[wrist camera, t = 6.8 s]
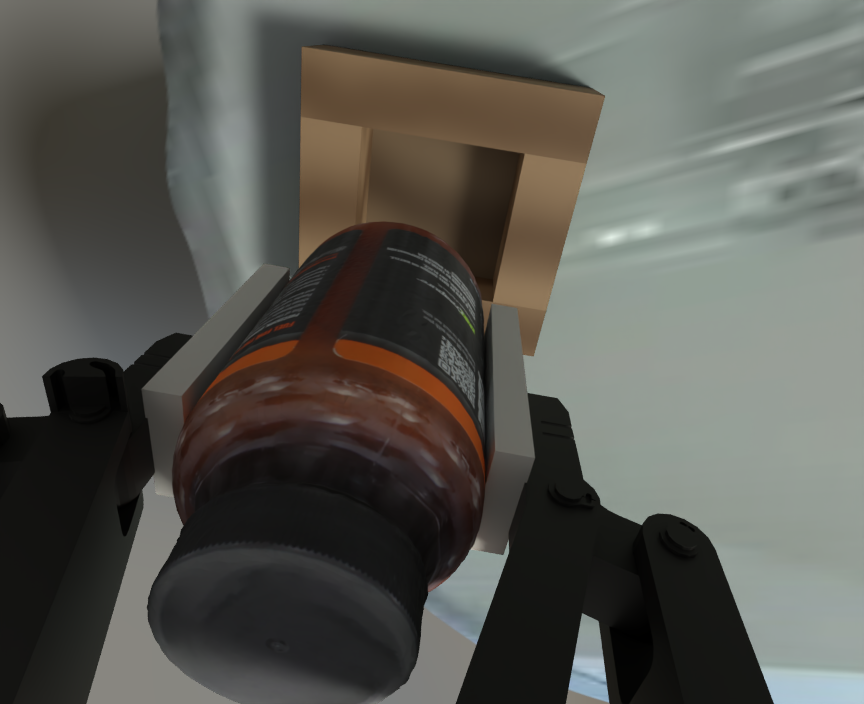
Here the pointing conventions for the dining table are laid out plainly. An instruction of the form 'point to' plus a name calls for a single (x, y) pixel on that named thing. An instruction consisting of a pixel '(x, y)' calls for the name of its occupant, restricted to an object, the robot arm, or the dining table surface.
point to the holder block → (447, 164)
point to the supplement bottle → (330, 477)
